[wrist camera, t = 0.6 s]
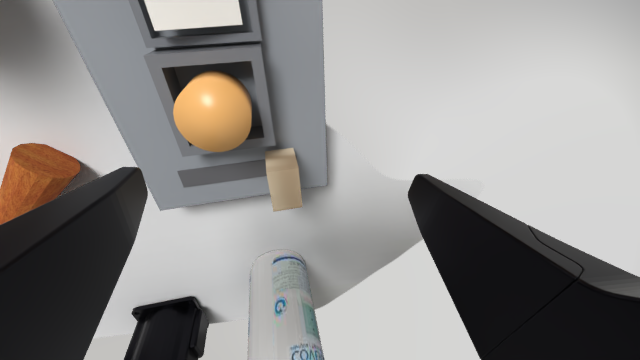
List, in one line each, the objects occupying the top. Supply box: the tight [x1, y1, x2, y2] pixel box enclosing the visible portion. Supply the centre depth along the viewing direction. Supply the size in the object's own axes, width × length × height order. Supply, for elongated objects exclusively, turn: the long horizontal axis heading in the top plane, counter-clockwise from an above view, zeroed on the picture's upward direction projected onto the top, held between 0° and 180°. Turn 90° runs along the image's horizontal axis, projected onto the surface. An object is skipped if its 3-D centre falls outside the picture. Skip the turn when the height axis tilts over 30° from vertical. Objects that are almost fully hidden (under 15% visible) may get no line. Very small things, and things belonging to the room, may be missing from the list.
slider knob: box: [265, 148, 302, 211], centre depth 18 cm, size 2×3×3 cm, turn 3°
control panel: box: [53, 0, 327, 211], centre depth 17 cm, size 13×15×4 cm
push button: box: [173, 70, 252, 152], centre depth 14 cm, size 4×4×2 cm
